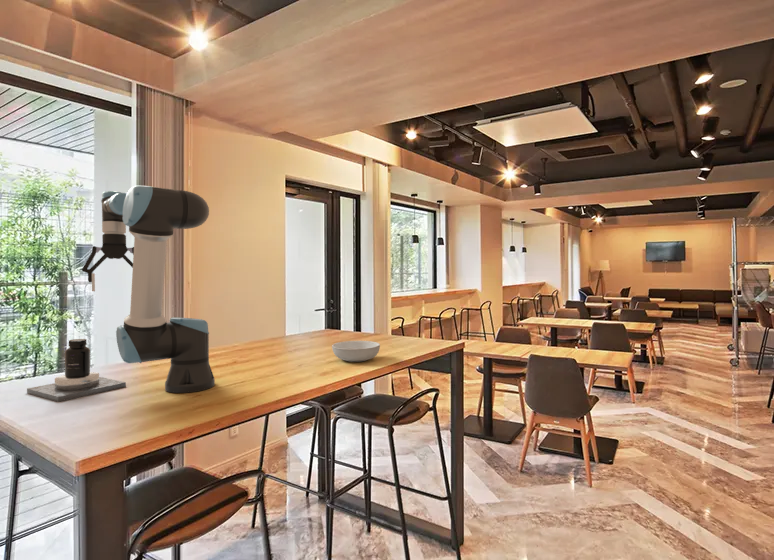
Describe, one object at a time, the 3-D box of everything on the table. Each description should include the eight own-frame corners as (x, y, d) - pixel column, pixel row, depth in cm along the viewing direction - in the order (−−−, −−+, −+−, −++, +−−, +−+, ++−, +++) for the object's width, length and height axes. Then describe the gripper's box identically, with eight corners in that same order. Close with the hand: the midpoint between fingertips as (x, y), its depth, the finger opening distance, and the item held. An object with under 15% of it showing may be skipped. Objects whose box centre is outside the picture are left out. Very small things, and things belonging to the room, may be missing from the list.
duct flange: (125, 386, 150) (125, 373, 150) (58, 401, 132) (57, 386, 132) (93, 379, 160) (93, 367, 160) (27, 393, 142) (26, 379, 142)
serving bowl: (322, 361, 191) (321, 345, 191) (352, 354, 208) (352, 339, 208) (360, 367, 179) (360, 350, 179) (389, 358, 196) (389, 343, 196)
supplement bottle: (68, 379, 141) (67, 342, 141) (62, 376, 146) (61, 339, 146) (93, 375, 146) (92, 339, 146) (87, 372, 151) (86, 337, 151)
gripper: (151, 235, 175) (152, 289, 176) (74, 233, 163) (75, 291, 163) (152, 234, 169) (153, 290, 169) (72, 231, 156) (73, 292, 157)
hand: (115, 290), depth 166 cm, fingers open, 13 cm apart
